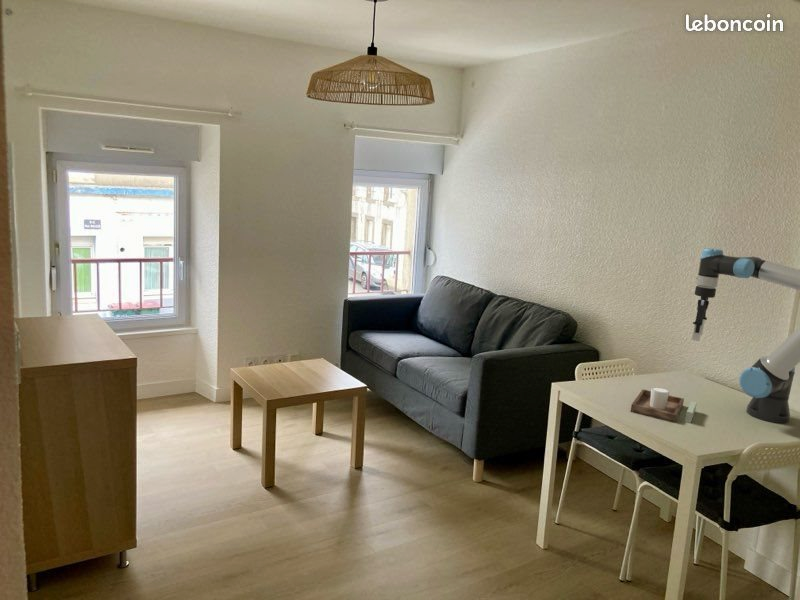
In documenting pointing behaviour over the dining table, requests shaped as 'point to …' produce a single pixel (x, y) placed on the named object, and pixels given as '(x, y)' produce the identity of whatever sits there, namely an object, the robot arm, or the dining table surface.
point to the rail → (690, 411)
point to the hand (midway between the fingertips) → (697, 337)
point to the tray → (668, 414)
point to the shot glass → (659, 397)
